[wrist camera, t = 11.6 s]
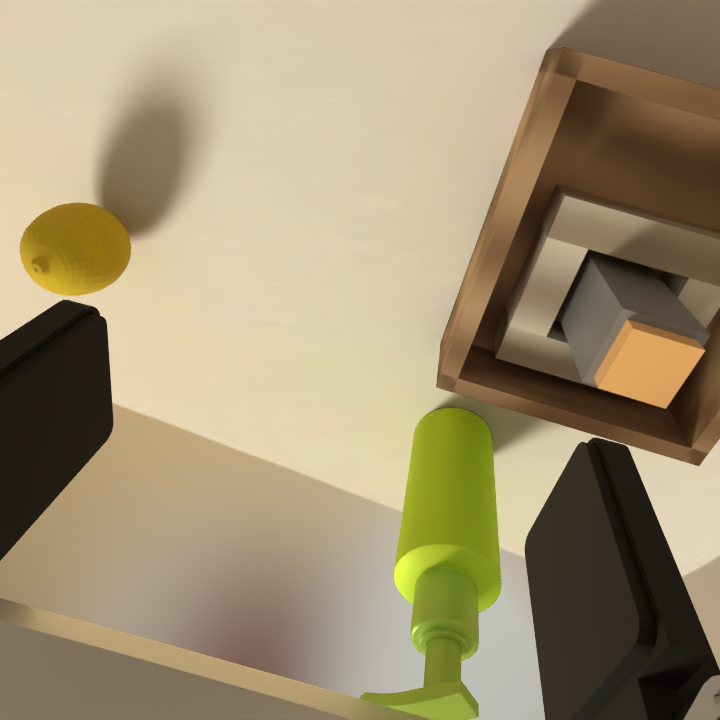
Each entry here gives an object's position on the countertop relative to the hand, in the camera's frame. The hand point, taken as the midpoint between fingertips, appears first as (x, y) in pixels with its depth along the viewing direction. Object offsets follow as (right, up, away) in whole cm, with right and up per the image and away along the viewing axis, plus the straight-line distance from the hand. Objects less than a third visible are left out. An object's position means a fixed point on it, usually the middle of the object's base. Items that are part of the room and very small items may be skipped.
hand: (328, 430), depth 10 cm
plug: (+15, +6, +22) cm, 27 cm away
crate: (+16, +8, +22) cm, 28 cm away
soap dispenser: (+7, -5, +31) cm, 32 cm away
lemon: (-16, +10, +27) cm, 33 cm away
